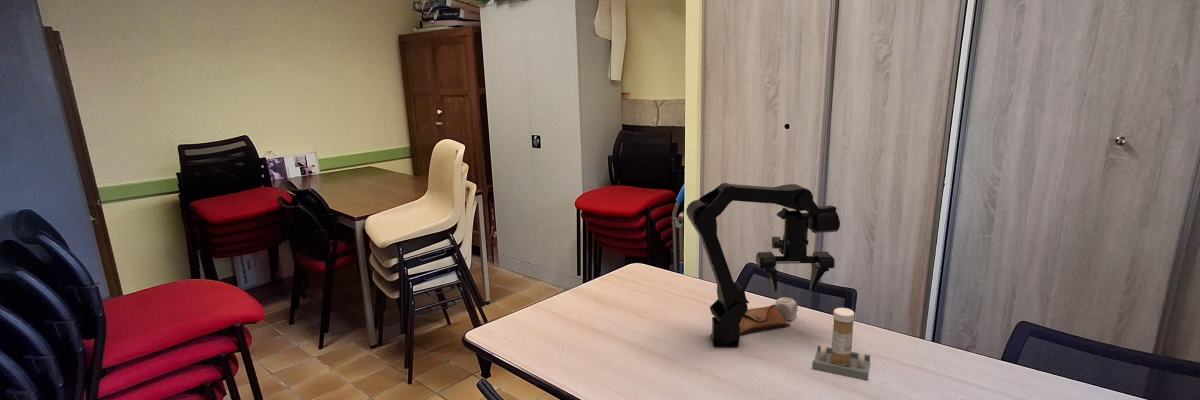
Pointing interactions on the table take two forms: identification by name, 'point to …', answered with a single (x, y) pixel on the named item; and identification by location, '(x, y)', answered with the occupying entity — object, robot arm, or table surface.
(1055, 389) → the table surface
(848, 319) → the sprinkles bottle
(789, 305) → the die
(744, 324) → the sunglasses case
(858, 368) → the tray
